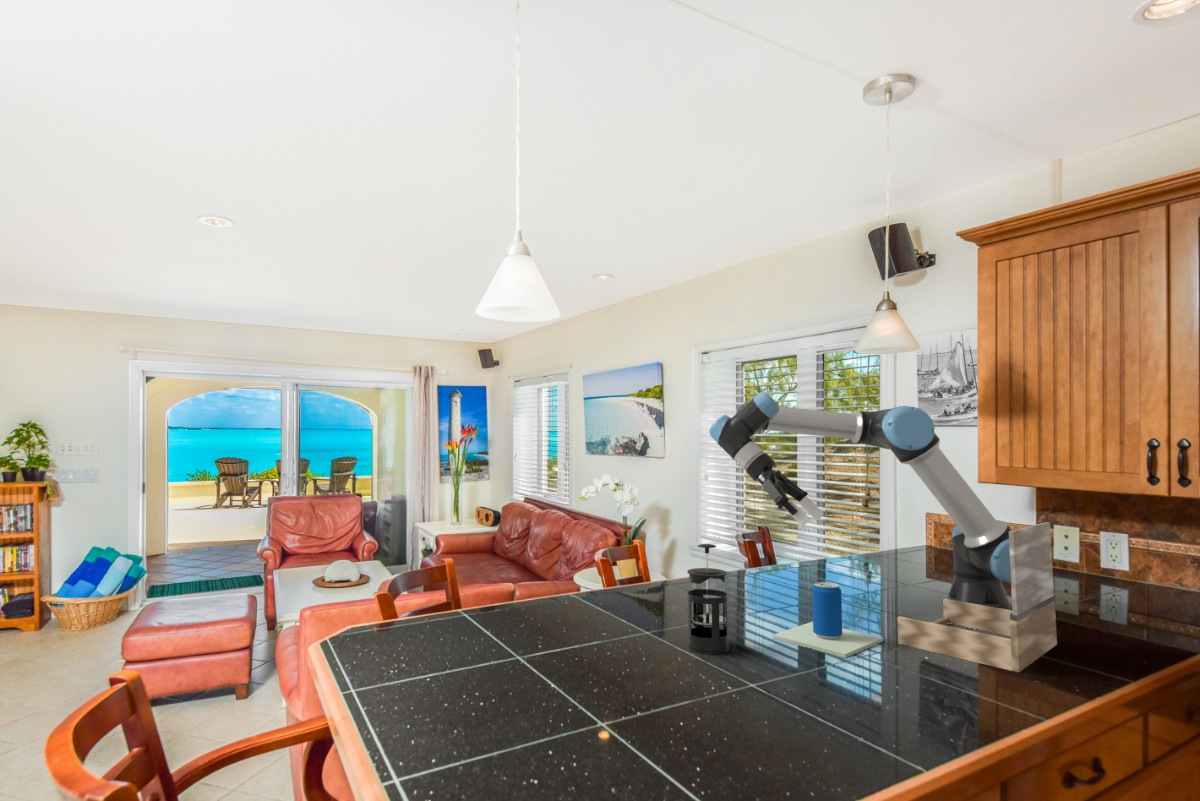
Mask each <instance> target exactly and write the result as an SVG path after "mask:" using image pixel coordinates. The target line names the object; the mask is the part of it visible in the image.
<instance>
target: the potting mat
mask: <svg viewBox="0 0 1200 801" xmlns="http://www.w3.org/2000/svg"><path fill="white" fill-rule="evenodd" d="M773 638H775V639H774V640H777V639H779V640H778V641H781V640H782V641H781V642H784V641H785V643H788V642H789V644H792V645H795V644H796V645H797V646H800V647H803V648H806V647H807V648H806V649H810V648H811V650H814V651H818V652H822V653H826V654H829V655H832V656H836V657H839V658H844V659H846V658H848V657H850V656H853V655H855V653H856V654H858V653H860V652H862V651H865V650H867V649H869V648H872V647H873V646H876V645H879V644H880V642H881V643H883V642H884V637H882V636H881V637H880V636H876V635H872V634H869V633H863V632H860V631H855V630H852V629H847V628H843V627H842V636H840V637H839V638H838V639H823V638H820V637H818V636H817V635H816V634H815V633H814V632H813V621H810V622H807V623H805V624H801V625H799V626H795V627H792V628H789V629H787V630H783V631H781V632H777V633H774V634H772V639H773ZM882 641H883V642H882ZM878 643H879V644H878ZM871 646H872V647H871ZM864 649H865V650H864Z"/></svg>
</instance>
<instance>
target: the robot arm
mask: <svg viewBox="0 0 1200 801" xmlns="http://www.w3.org/2000/svg"><path fill="white" fill-rule="evenodd" d="M935 429H936V428H935V423H934V422H933V419H932V417H931V416H930V415H929V414H928V413H927V412H926V411H924V410H923V409H920V408H918V407H916V406H915V407H914V406H908V405H901V406H900V405H899V406H895V407H894V408H892V407H891V408H885V409H881V410H873V411H871V410H870V411H866V410H864V411H863V410H862V411H861V410H855V412H853V413H849V412H840V411H838V412H837V411H828V410H819V409H809V408H801V407H800V408H799V407H798V408H797V407H788V406H780V405H779V404H778V403H777V401H775V399H774V398H773V397H772V396H771V395H770V394H768V393H766V392H764V391H761V392H759V393H758V394H757V395H755V396H753V398H752V399H751V400H750V401H749V402H746V403H744V404H741V405H740V406H739V407H738V408H737V410H736V413H735V414H734V415H733V416H732V417H730V416H728V415H727V414H724V415H721V416H720V417H718V418H717V419H715V420H714V422H712V424H711V426H710V427H709V430H708V433H709V435H710V437H712V439H713V440H714V441H715V442H716V444H717V445H718V446H719V447H721V449H723V451H724V452H725V453H727V454H728V455H729V457H730V458H732V460H733V461H735V462H736V466H737V467H741V468H742V470H743V471H746V474H747V475H748V476H749V477H750V478H751V479H752V480H753V481H756V482H759V483H760V485H761V486H762V487H763V489H765V491H766V492H767V494H768V496H770V498H771V500H772V501H773V502H774V504H775V505H776V507H777V508H778V509H779V510H781V509H782V508H783V509H784V510H785V511H786V512H787V513H788V514H789V515H790V516H791V517H792V519H794V520H795V522H797V523H798V524H799V526H801V527H802V528H803V527H805V525H806V524H807V523H808V522H809V521H811V518H810V517H809V516H808V515H810V516H811V517H812V518H813V519H814V520H815V521H816V522H818V521H819V520H820V519H821V518H822V517H823V516H824V515H825V513H824V511H823V510H822V509H820V508H819V507H818V506H817V505H816V504H815V503H814V502H813V501H812V500H811V499H810V498H808V495H809V492H807V491H804V490H803V489H802V488H801V487H800V486H798V485H797V484H795V483H794V482H793V481H792V480H791V479H790V478H788V477H787V476H785V475H784V474H783V472H781V471H780V470H777V471H775V470H773V467H774V466H775V461H774V459H773V458H771V456H770V455H769V454H768V453H764V449H763V448H762V447H760V445H758V443H756V442H755V441H754V440H753V439H752V437H753V436H754V435H755V434H756V433H758V431H761V430H762V431H771V432H772V431H773V432H781V433H789V434H791V433H792V434H800V435H811V436H817V437H818V436H820V437H821V436H822V437H826V438H827V437H829V438H830V437H831V438H838V439H848V440H851V441H852V443H855V444H860V445H861V444H862V445H867V446H873V447H877V448H880V449H887V450H890V451H891V452H892V453H893V454H894V456H895V457H896V458H897V460H898V461H899V462H900V464H904V465H908V466H910V467H911V468H912V470H913V471H914V473H916V475H917V476H918V477H919V479H920V480H921V481H922V482H923V484H924V485H925V486H926V487H927V489H928V490H929V491H930V492H931V494H932V496H934V498H935V499H936V501H937V502H938V503H939V504H940V505H941V506H942V508H943V510H944V511H945V512H946V513H947V515H948V516H949V517H950V518H951V519H952V520H953V522H954V524H956V526H954V527H952V534H951V535H952V536H951V540H952V543H951V544H952V559H953V562H952V563H953V580H952V583H951V586H950V589H949V592H948V594H947V599H949V600H955V601H961V602H967V603H972V604H978V605H984V606H990V607H995V608H1001V609H1007V610H1009V609H1010V610H1011V605H1010V604H1011V603H1010V601H1009V597H1008V595H1007V592H1006V590H1005V587H1004V585H1003V583H1002V582H1005V583H1007V582H1008V583H1011V569H1010V547H1009V531H1013V530H1012V528H1011V527H1010V526H1009V525H1008V524H1007V522H1005V521H1004V520H999V519H995V516H993V514H992V513H991V512H990V511H989V509H988V508H987V507H986V506H985V505H984V503H983V502H982V500H981V498H979V497H978V495H977V494H976V492H975V491H974V490H973V489H972V488H971V486H970V485H969V484H968V483H967V481H966V480H965V479H964V478H963V477H962V475H961V474H960V472H959V471H958V470H957V468H956V467H955V466H954V465H953V464H952V462H951V461H950V460H949V459H948V457H947V456H946V455H945V453H944V452H943V451H942V449H941V448H940V442H941V439H940V437H939V436H938V435H937V434H936V433H935ZM787 495H788V496H790V497H791V498H793V499H794V500H796V501H797V502H798V504H799V505H800V506H801V507H802V508H803V509H804V510H805V512H807V513H808V515H807V514H806V513H805V512H804V511H803V509H801V508H800V507H799V506H798V505H797V504H796V503H795V502H794V501H793V500H792V499H789V498H788V496H787Z"/></svg>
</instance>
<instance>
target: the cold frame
mask: <svg viewBox="0 0 1200 801" xmlns="http://www.w3.org/2000/svg"><path fill="white" fill-rule="evenodd" d="M1051 532H1052V531H1051V522H1050V521H1049V522H1048V521H1046V522H1042V523H1038V524H1033V525H1029V526H1025V527H1023V528H1017V529H1015V530H1012V531H1009V547H1010V569H1011V582H1010V586H1011V608H1012V609H1010V610H1007V609H1001V608H995V607H990V606H984V605H978V604H972V603H967V602H961V601H955V600H949V599H948V598H943V599H942V606H943V608H942V610H943V611H942V612H943V617H941V618H939V619H936V620H933V621H924V620H920V619H915V618H909V617H906V616H900V615H899V616H898V617H897V619H896V620H897V644H898V645H902V644H903V645H902V646H906V645H907V647H909V648H910V647H911V648H914V649H919V650H923V651H927V652H930V653H931V652H932V653H936V654H939V655H945V656H949V657H953V658H957V659H961V660H965V661H969V662H973V663H978V664H982V665H986V666H991V667H994V668H998V669H1003V670H1006V671H1007V670H1008V671H1011V672H1016V673H1020V672H1022V671H1023V670H1025V669H1026V668H1027V667H1029V666H1030V665H1031V664H1032V663H1034V662H1035V661H1037V660H1038V659H1039V658H1041V657H1042V656H1044V655H1045V654H1047V652H1049V651H1050V650H1051V649H1053V648H1054V647H1055V646H1057V645H1058V637H1057V634H1058V633H1057V618H1056V601H1055V600H1056V599H1055V593H1054V592H1055V591H1054V573H1053V572H1054V570H1053V569H1054V568H1053V553H1052V552H1053V551H1052V550H1053V549H1052V534H1051ZM947 623H952V624H956V625H961V626H965V627H964V628H966V627H968V628H967V629H963V628H957V627H953V626H949V625H945V624H947ZM956 625H955V626H956ZM961 626H960V627H961ZM971 628H973V630H976V629H978V631H973V630H968V629H971ZM981 630H982V631H983V633H982V631H981ZM979 631H981V632H979ZM986 631H987V632H986ZM984 632H986V633H984ZM987 633H993V634H996V635H993V634H987ZM997 635H1000V636H997ZM1001 635H1003V636H1007V637H1010V638H1007V637H1002V636H1001Z"/></svg>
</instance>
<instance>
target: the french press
mask: <svg viewBox="0 0 1200 801" xmlns="http://www.w3.org/2000/svg"><path fill="white" fill-rule="evenodd" d="M697 547H698V548H702V549H703V548H704V554H706V556H705V557H706V560H705V561H706V562H705V563H706V567H697V568H691V569H690V568H689V569H688V570H687V574H688V576H689V577H688V579H689V582H690V583H691V584H697V585H700V584H703V583H704V582H706V588H693V589H691V590H689V591H687V593H686V594H687V643H686V648H687V649H688V650H689V649H690V650H689V651H691V650H692V651H691V652H693V651H694V653H697V652H698V653H697V654H702V653H704V655H718V654H719V655H720V653H721V654H724V652H725V653H727V652H728V651H729V649H730V646H729V644H728V643H729V633H728V593H727V592H725V591H722V590H718V589H709V579H716V580H720V581H721V582H723V583H726V576H727V575H728V572H727V571H726V570H724V569H719V568H711V567H709V554H710V549H714V548H717V545H715V544H711V543H702V544H701V543H699V544H698V545H697ZM704 596H706V597H704ZM709 596H715V597H709ZM720 604H722V615H720ZM704 605H706V612H705V613H704ZM709 605H711V613H709ZM692 613H693V614H692ZM692 625H693V626H692ZM720 626H722V628H720Z"/></svg>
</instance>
